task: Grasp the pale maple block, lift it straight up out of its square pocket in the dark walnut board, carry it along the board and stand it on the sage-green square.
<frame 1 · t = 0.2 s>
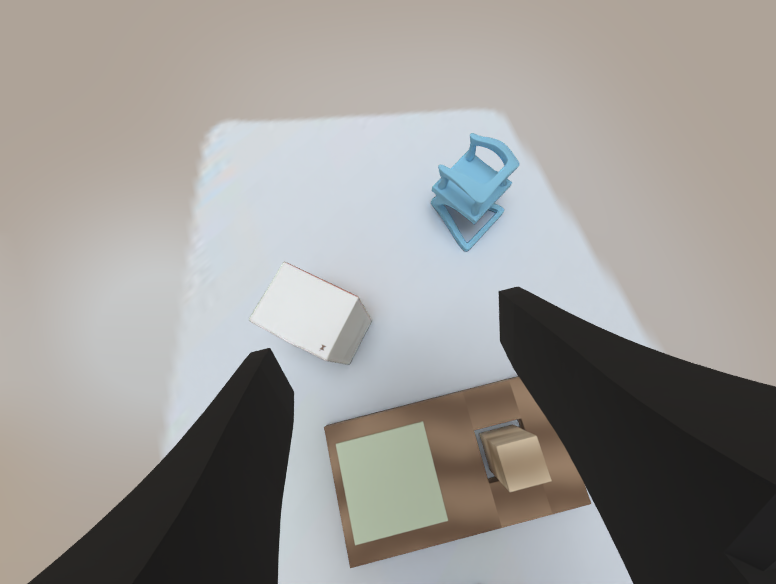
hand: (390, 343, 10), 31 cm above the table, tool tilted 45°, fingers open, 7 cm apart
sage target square: (390, 480, 36), resting on walnut pocket board
small box: (333, 328, 42), on the table
chair: (460, 214, 45), on the table
walnut pocket board: (450, 460, 38), on the table
maple block: (501, 447, 38), resting in walnut pocket board
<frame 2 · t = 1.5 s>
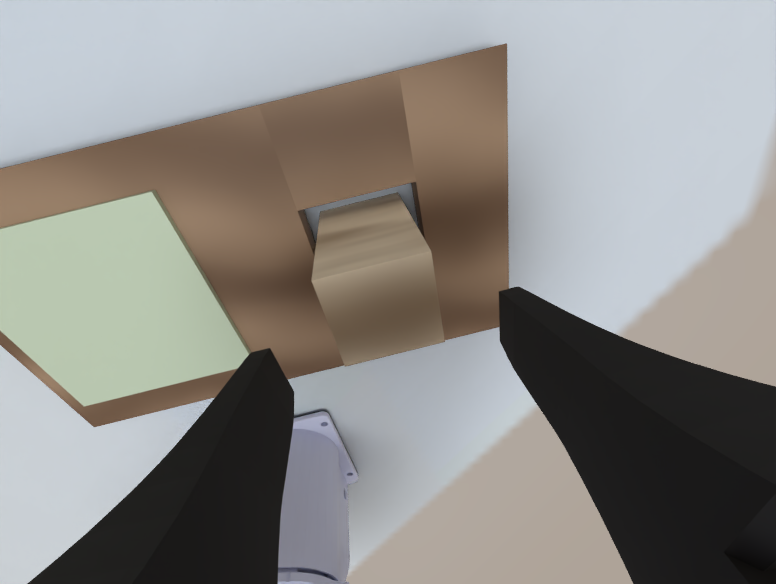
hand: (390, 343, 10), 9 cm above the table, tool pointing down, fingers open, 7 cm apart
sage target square: (115, 313, 16), resting on walnut pocket board
walnut pocket board: (259, 265, 18), on the table
maple block: (368, 238, 18), resting in walnut pocket board
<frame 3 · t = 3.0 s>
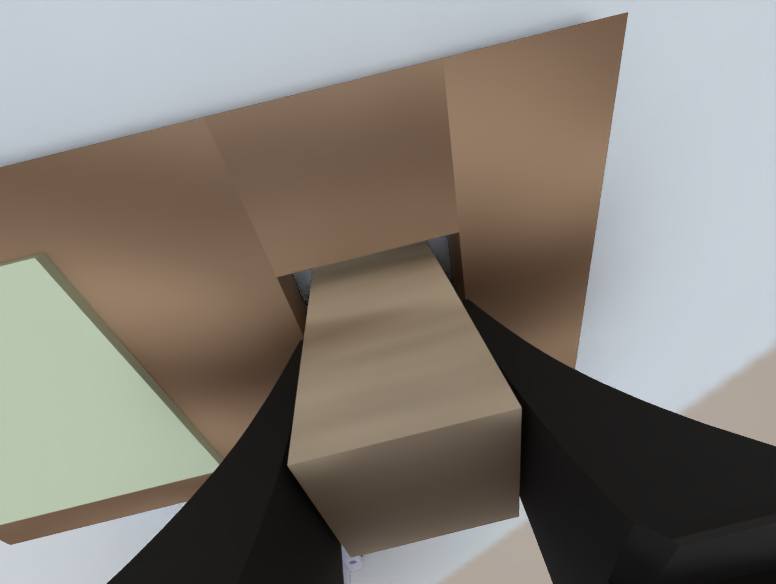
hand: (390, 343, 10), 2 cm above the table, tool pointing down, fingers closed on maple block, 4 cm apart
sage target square: (13, 418, 11), resting on walnut pocket board
walnut pocket board: (226, 340, 12), on the table
maple block: (381, 301, 12), resting in walnut pocket board, touching gripper
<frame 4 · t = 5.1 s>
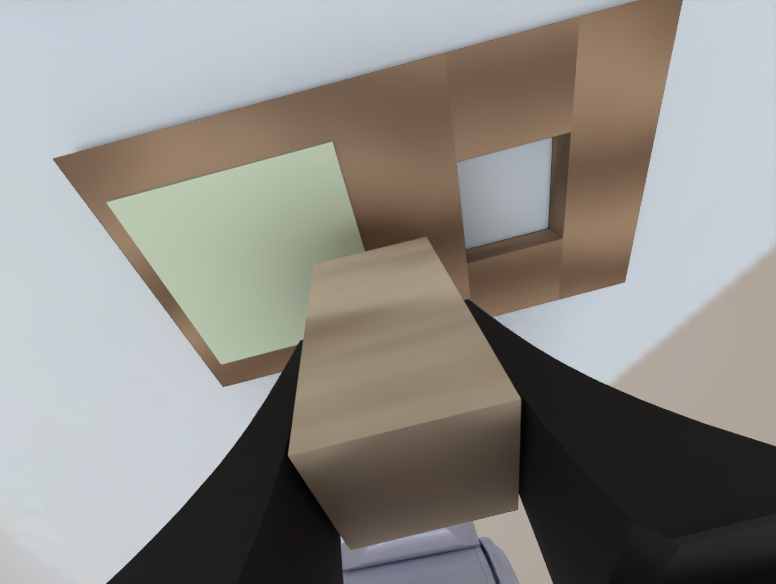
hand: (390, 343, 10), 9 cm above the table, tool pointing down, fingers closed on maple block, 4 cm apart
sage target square: (268, 268, 17), resting on walnut pocket board
walnut pocket board: (396, 223, 18), on the table
maple block: (382, 297, 12), point 7 cm above the table, touching gripper
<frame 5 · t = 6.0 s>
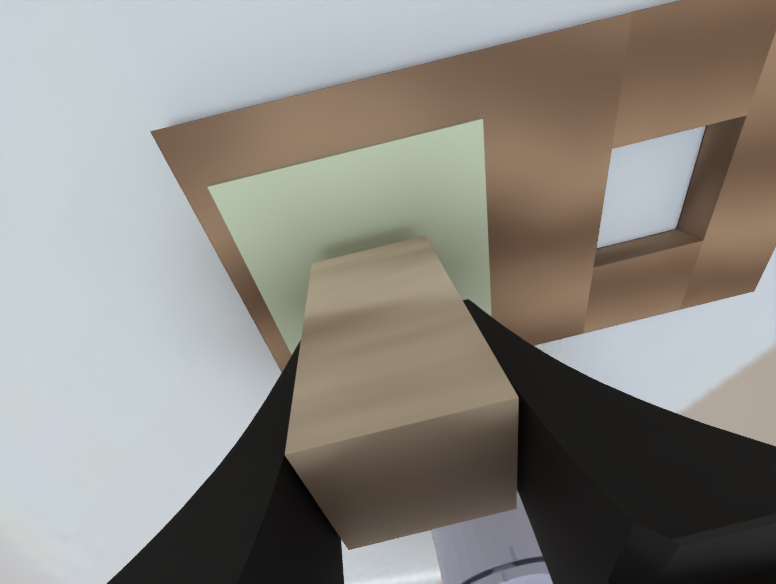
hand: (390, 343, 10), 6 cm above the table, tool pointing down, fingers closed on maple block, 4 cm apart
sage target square: (375, 270, 15), resting on walnut pocket board
walnut pocket board: (514, 220, 16), on the table
maple block: (380, 296, 12), point 4 cm above the table, touching gripper
when the fingers open (5 cm above the table, at t = 7.0 s): maple block drops 1 cm, resting on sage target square.
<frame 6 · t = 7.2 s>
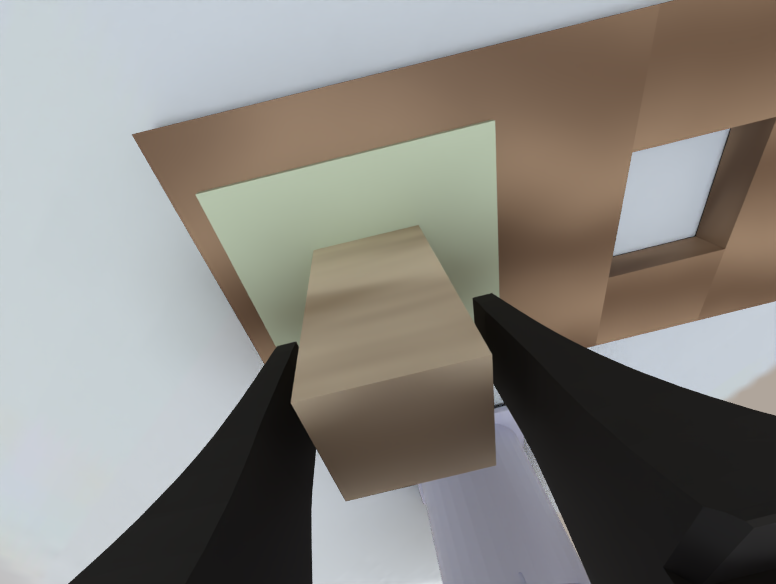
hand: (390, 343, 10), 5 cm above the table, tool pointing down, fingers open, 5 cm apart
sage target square: (377, 281, 14), resting on walnut pocket board
walnut pocket board: (525, 227, 15), on the table
maple block: (377, 282, 13), point 2 cm above the table, touching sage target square
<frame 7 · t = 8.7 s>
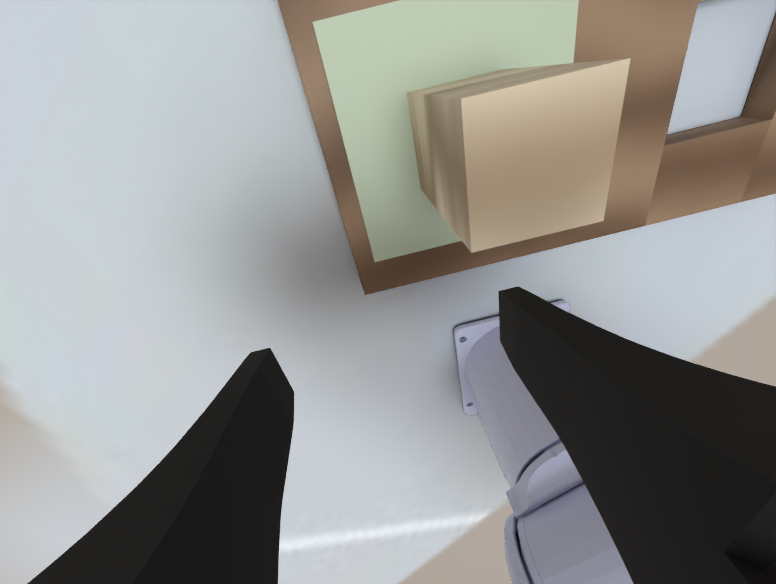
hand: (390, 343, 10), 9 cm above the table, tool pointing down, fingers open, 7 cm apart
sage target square: (457, 136, 15), resting on walnut pocket board
walnut pocket board: (587, 97, 16), on the table
maple block: (458, 133, 15), point 2 cm above the table, touching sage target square
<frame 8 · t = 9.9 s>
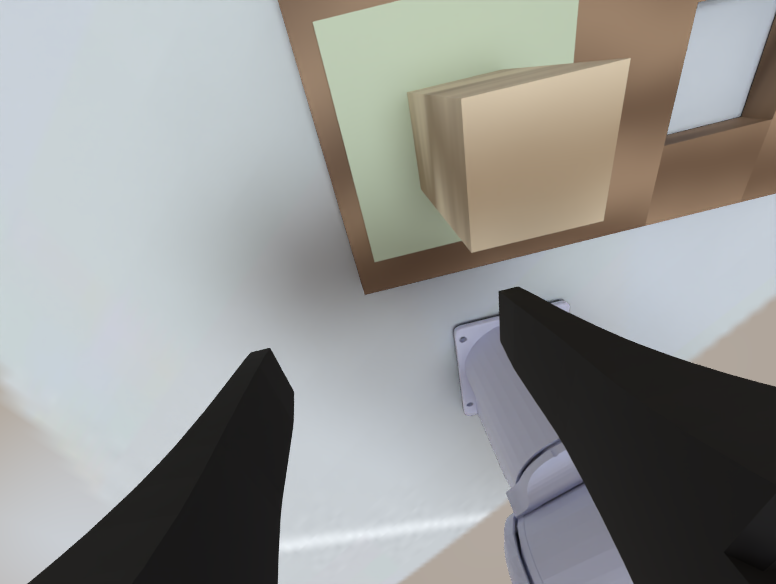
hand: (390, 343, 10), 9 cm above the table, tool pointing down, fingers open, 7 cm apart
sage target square: (457, 136, 15), resting on walnut pocket board
walnut pocket board: (587, 97, 16), on the table
maple block: (458, 133, 15), point 2 cm above the table, touching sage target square
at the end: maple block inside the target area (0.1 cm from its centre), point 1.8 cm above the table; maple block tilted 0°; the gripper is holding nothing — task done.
